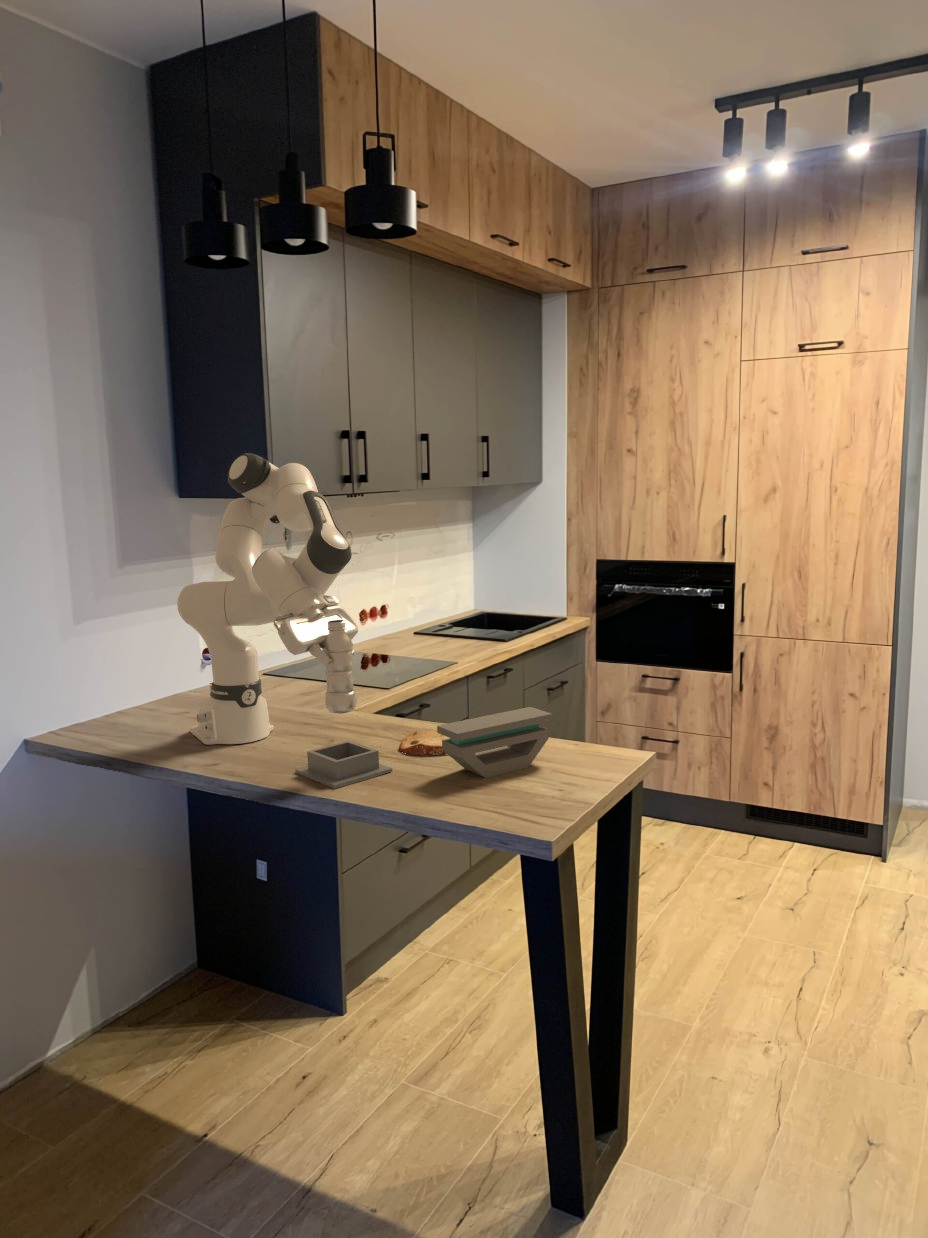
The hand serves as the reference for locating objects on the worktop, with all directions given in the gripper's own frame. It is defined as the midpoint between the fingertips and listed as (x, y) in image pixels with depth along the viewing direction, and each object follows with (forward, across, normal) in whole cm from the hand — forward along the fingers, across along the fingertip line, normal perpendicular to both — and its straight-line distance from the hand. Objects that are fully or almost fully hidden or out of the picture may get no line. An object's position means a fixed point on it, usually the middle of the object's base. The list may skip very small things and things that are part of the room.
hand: (340, 659), depth 198 cm
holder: (+17, 0, +18) cm, 25 cm away
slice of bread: (+24, +26, +12) cm, 38 cm away
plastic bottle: (+8, 0, +9) cm, 12 cm away
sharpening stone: (+37, +18, -2) cm, 41 cm away
